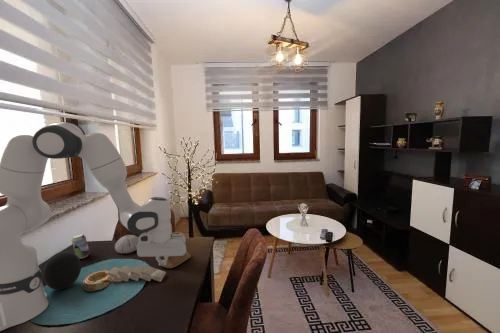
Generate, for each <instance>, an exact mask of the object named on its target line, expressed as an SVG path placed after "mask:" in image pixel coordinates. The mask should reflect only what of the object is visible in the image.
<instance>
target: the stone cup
mask: <svg viewBox="0 0 500 333" xmlns="http://www.w3.org/2000/svg"><path fill="white" fill-rule="evenodd" d="M172 234H182V235H184V236H185V238H186V239H187V237H186V235H185V233H183V232H180V231H175V232H172ZM186 244H187V241H186V242H185V245H186ZM191 257H192V256H191V254H190V253H189V252H188V250H186V252H185V254H184V255H183V256H169V257H168V259H167V264H166V266H162V267H163V268H165V269H173V268H176V267H178V266H180V265H181V264H183V263H184V262H185V261H187V260H189V259H190V258H191ZM165 259H166V258H163V259H162V260H165Z"/></svg>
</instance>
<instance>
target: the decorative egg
mask: <svg viewBox="0 0 500 333" xmlns="http://www.w3.org/2000/svg"><path fill="white" fill-rule="evenodd" d="M46 261H47V262H46V263H45V265H44V268H43V272H42V277H43V281H44V283H45V284H46V286H47V287H49V288H50V289H52V290H58V291H59V290H61V291H62V290H64V289H68V288H69V287H71V286H72V285H73V284H74V283H75V282H76V281H77V280H78V279H79V276H80V274H81V270H82V263H81V261H80V259H79V258H78V257H77V255H76V254H75V252H72V251H67V250H66V251H65V250H64V251H60V252H58V253H55V254H54V255H52V256H51V257H50V258H49V259H48V260H46Z"/></svg>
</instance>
